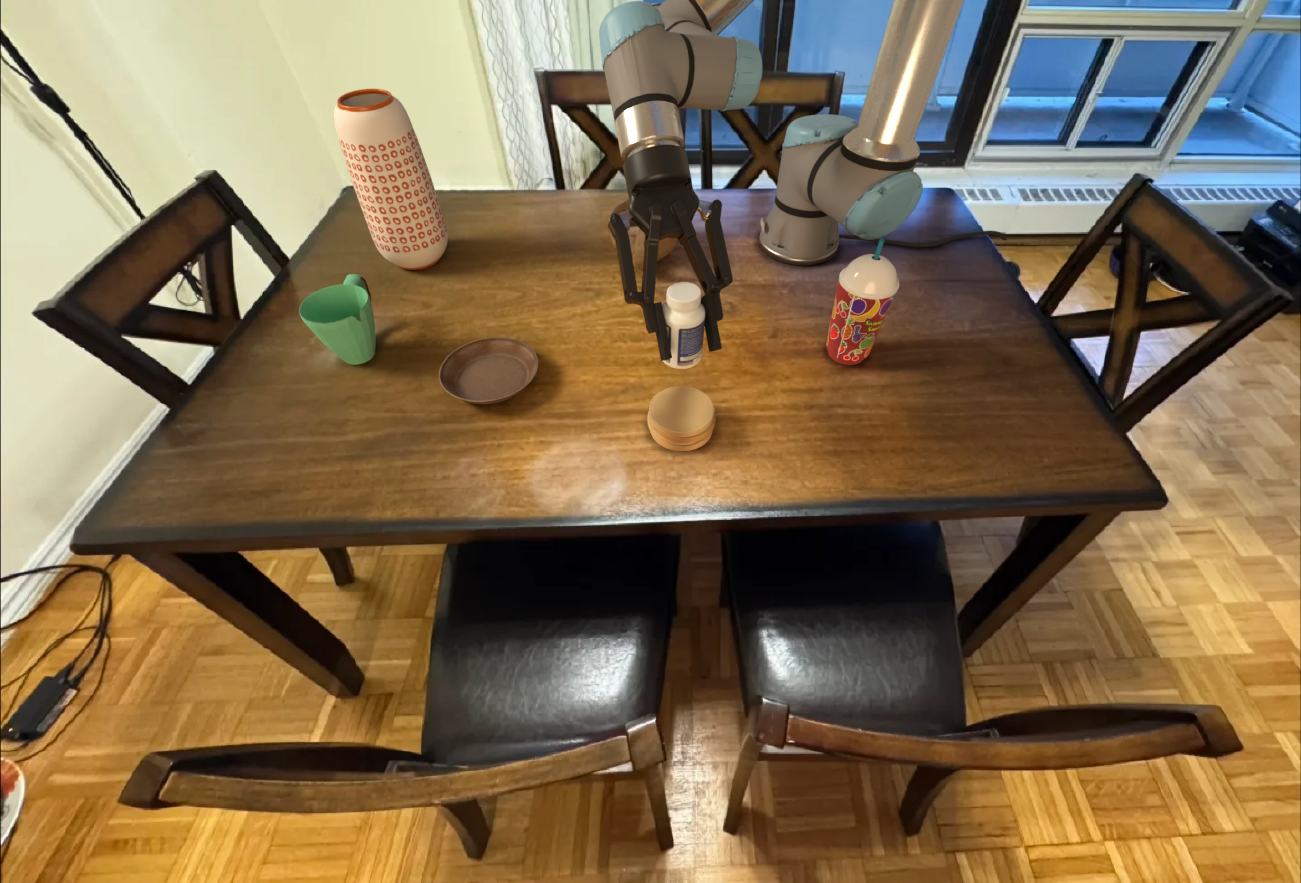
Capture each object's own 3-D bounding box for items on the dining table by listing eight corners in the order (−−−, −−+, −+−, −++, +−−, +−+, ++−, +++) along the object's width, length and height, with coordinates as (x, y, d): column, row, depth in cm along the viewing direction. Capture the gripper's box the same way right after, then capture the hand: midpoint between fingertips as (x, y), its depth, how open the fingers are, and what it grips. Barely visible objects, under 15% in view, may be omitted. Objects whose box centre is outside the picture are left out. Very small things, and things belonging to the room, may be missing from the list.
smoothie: (862, 378, 90) (903, 263, 75) (811, 359, 93) (841, 245, 78) (879, 348, 95) (921, 234, 80) (830, 331, 98) (861, 218, 83)
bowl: (701, 270, 107) (689, 222, 100) (629, 297, 109) (612, 252, 101) (678, 221, 119) (665, 175, 111) (613, 246, 120) (596, 202, 112)
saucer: (461, 346, 96) (456, 333, 94) (549, 352, 95) (547, 338, 93) (429, 410, 86) (423, 397, 84) (527, 418, 85) (524, 404, 83)
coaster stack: (709, 402, 87) (711, 382, 84) (718, 451, 81) (721, 431, 78) (645, 405, 87) (645, 386, 84) (649, 455, 80) (649, 435, 77)
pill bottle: (706, 348, 76) (712, 283, 68) (695, 374, 72) (700, 309, 65) (667, 339, 77) (668, 274, 69) (653, 364, 73) (654, 299, 66)
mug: (382, 374, 91) (357, 322, 84) (318, 376, 91) (288, 324, 84) (404, 316, 101) (384, 265, 93) (346, 318, 101) (322, 267, 93)
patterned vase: (450, 235, 119) (405, 78, 98) (457, 269, 110) (410, 107, 89) (381, 246, 116) (320, 88, 95) (383, 282, 108) (317, 118, 87)
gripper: (719, 160, 73) (752, 344, 75) (573, 178, 70) (611, 371, 72) (739, 132, 66) (775, 337, 68) (577, 151, 62) (620, 366, 64)
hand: (691, 354), depth 70 cm, fingers closed on pill bottle, 5 cm apart
